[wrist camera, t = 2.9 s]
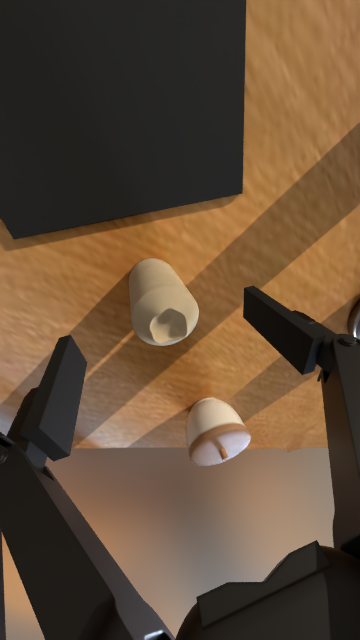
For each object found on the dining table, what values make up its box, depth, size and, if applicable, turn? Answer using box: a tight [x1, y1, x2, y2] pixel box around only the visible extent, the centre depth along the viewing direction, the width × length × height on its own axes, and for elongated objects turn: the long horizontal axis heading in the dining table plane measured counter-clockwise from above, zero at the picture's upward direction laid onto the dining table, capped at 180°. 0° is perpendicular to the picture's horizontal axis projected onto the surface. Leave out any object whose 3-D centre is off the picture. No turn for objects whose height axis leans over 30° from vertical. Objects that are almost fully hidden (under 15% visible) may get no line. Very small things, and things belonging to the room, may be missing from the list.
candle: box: [129, 258, 199, 346], centre depth 19 cm, size 6×6×10 cm
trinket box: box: [185, 398, 250, 466], centre depth 35 cm, size 11×11×9 cm
